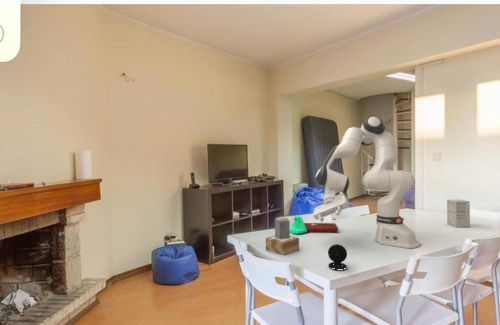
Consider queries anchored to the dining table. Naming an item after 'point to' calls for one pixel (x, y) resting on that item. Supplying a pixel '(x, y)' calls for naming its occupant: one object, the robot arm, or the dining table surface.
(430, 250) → the dining table surface
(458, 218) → the supplement box
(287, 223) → the block
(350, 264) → the dining table surface
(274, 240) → the stand
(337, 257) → the webcam
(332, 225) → the hardcover book
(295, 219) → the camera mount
